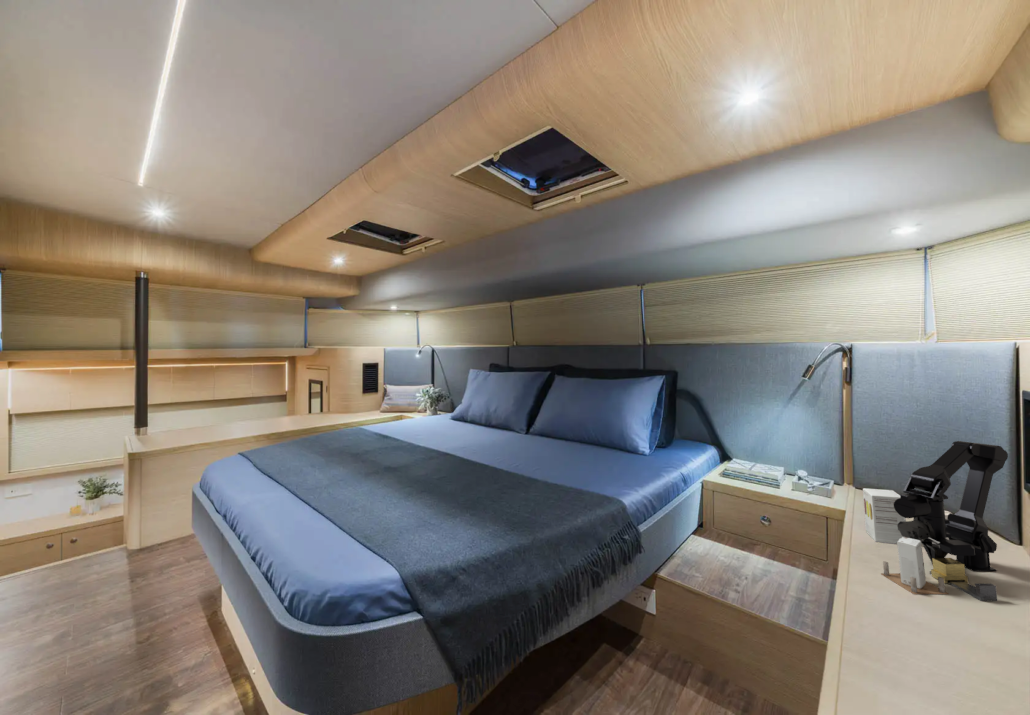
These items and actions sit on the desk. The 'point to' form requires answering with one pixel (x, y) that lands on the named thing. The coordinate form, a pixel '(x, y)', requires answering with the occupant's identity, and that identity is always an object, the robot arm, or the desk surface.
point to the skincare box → (911, 561)
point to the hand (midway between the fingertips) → (935, 565)
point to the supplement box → (882, 515)
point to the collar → (948, 569)
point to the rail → (976, 590)
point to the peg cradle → (926, 589)
